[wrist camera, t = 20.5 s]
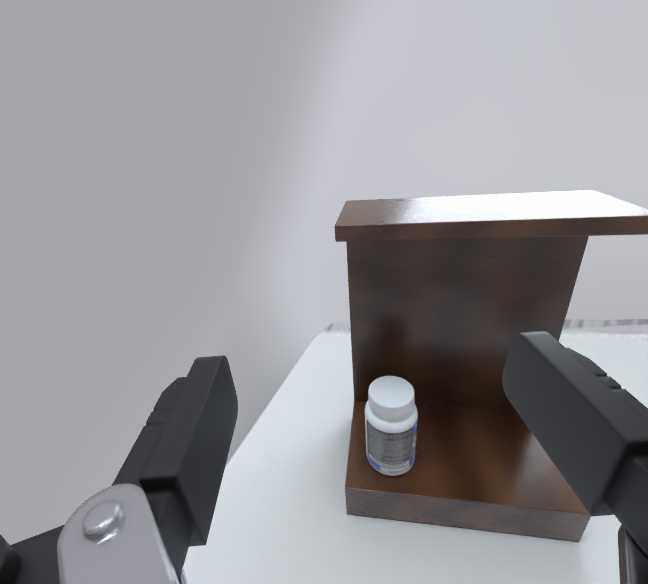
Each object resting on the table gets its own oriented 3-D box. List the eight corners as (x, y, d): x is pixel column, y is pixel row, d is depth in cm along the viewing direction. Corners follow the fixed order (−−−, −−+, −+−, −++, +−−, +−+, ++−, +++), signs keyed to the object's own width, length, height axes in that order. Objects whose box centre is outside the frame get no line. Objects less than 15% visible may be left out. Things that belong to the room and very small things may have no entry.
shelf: (346, 514, 32) (325, 244, 20) (356, 416, 43) (345, 200, 31) (579, 542, 29) (724, 236, 17) (527, 428, 39) (593, 189, 27)
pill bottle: (423, 471, 31) (429, 404, 28) (374, 482, 31) (373, 416, 27) (403, 430, 36) (406, 368, 32) (360, 440, 35) (357, 377, 31)
